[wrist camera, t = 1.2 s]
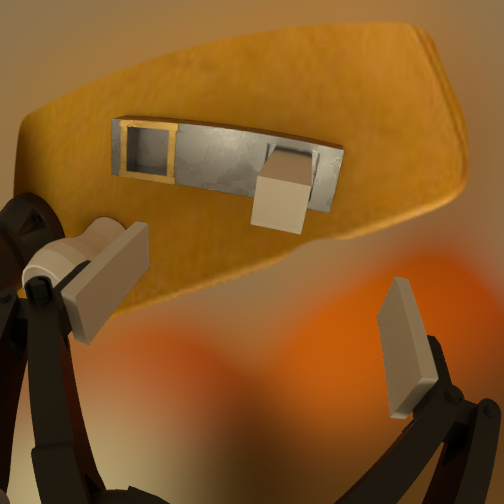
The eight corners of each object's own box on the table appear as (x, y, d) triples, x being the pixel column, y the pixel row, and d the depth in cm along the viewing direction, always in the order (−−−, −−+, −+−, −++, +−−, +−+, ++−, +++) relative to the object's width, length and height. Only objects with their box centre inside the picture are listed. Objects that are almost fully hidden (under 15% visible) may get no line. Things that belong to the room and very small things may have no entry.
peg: (270, 180, 36) (250, 224, 25) (275, 146, 34) (257, 175, 23) (305, 187, 35) (300, 234, 25) (312, 153, 33) (311, 186, 23)
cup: (77, 205, 43) (9, 254, 30) (135, 209, 41) (68, 268, 29) (90, 265, 48) (35, 322, 35) (145, 275, 47) (93, 343, 34)
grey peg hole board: (124, 168, 39) (110, 175, 36) (124, 115, 35) (110, 119, 32) (328, 203, 36) (329, 213, 34) (341, 145, 33) (344, 150, 30)
